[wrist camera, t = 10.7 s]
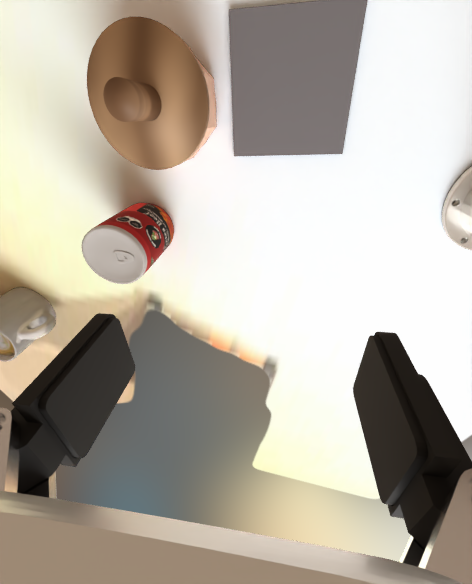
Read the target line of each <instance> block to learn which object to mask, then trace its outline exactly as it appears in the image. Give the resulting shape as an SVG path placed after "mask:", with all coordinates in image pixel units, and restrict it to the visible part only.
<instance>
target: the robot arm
mask: <svg viewBox="0 0 472 584" xmlns="http://www.w3.org/2000/svg"><path fill="white" fill-rule="evenodd" d="M453 201H454V202H453ZM442 224H443V228H444V231H445V232H446V234H447V236H448V237H449V238H450V239H451V240H452V241H453V242H455V243H456V244H457V245H459V246H461V247H463V248H465V249H468V250H472V166H471V167H470V168H469V169H468V170H467V171H465V172H464V173H463V174H462V176H461V177H460V178H459V179H458V180H457V181H456V182H455V184H454V185H453V187H452V188H451V190H450V192H449V193H448V195H447V198H446V200H445V202H444V206H443V210H442ZM134 371H135V364H134V361H133V358H132V355H131V352H130V349H129V347H128V344H127V341H126V338H125V335H124V332H123V329H122V327H121V324H120V321H119V319H117V318H116V317H115V316H114V315H113V314H100V313H99V314H96V315H95V316H94V317H93V318H92V319H91V320H90V321H89V322H88V324H87V325H86V326H85V327H84V328H83V329H82V330H81V331H80V332H79V333H78V334H77V335H76V336H75V337H74V338H73V339H72V340H71V342H70V343H69V344H68V345H67V346H66V347H65V348H64V349H63V350H62V351H61V352H60V353H59V354H58V355H57V356H56V357H55V359H54V360H53V361H52V362H51V363H50V364H49V365H48V366H47V367H46V368H45V369H44V370H43V371H42V372H41V373H40V374H39V375H38V377H37V378H36V379H35V380H34V381H33V382H32V383H31V384H30V385H29V386H28V387H27V388H26V389H25V390H24V391H23V392H22V394H21V395H20V396H19V397H18V398H17V399H16V400H15V401H14V402H13V403H12V404H13V405H14V409H13V410H12V411H11V412H10V411H9V410H8V409H5V408H0V584H472V461H471V459H470V458H469V456H468V454H467V452H466V450H465V448H464V447H463V445H462V443H461V441H460V439H459V438H458V436H457V434H456V432H455V430H454V428H453V427H452V425H451V423H450V421H449V419H448V418H447V416H446V414H445V412H444V410H443V408H442V407H441V405H440V403H439V401H438V399H437V397H436V396H435V394H434V392H433V390H432V388H431V387H430V385H429V383H428V381H427V380H426V378H425V377H424V376H422V375H420V374H418V373H417V371H416V369H415V368H414V366H413V364H412V362H411V360H410V358H409V356H408V354H407V352H406V350H405V349H404V347H403V345H402V343H401V341H400V339H399V337H398V336H397V334H395V333H387V332H376V333H375V335H374V336H370V337H369V339H368V342H367V345H366V348H365V351H364V355H363V358H362V361H361V364H360V367H359V370H358V374H357V377H356V380H355V383H354V387H353V393H354V398H355V402H356V406H357V410H358V414H359V418H360V421H361V425H362V429H363V433H364V437H365V441H366V445H367V449H368V453H369V457H370V461H371V464H372V468H373V472H374V476H375V480H376V484H377V488H378V492H379V495H380V499H381V501H382V502H383V503H384V504H388V508H389V512H390V515H391V516H392V517H398V518H404V520H405V523H406V527H407V530H408V533H409V534H410V535H411V536H410V538H409V541H408V543H407V545H406V548H405V550H404V552H403V554H402V556H401V559H400V561H399V562H397V561H393V560H389V559H385V558H379V557H375V556H370V555H365V554H360V553H355V552H350V551H345V550H340V549H335V548H329V547H325V546H320V545H314V544H309V543H303V542H298V541H292V540H287V539H281V538H276V537H270V536H265V535H259V534H254V533H248V532H243V531H237V530H232V529H226V528H220V527H215V526H209V525H204V524H198V523H192V522H186V521H181V520H175V519H169V518H164V517H158V516H153V515H147V514H141V513H135V512H130V511H124V510H118V509H112V508H106V507H101V506H94V505H89V504H83V503H77V502H71V501H65V500H59V499H57V498H56V474H55V471H56V469H57V468H58V466H59V465H60V464H62V465H66V466H72V467H76V466H77V464H78V462H79V461H80V459H81V458H83V457H85V456H86V455H87V453H88V452H89V450H90V448H91V446H92V445H93V443H94V441H95V440H96V438H97V436H98V434H99V433H100V431H101V429H102V427H103V426H104V424H105V422H106V420H107V419H108V417H109V415H110V413H111V412H112V410H113V408H114V407H115V405H116V403H117V402H118V400H119V398H120V396H121V395H122V393H123V391H124V389H125V388H126V386H127V384H128V383H129V381H130V379H131V377H132V376H133V374H134Z"/></svg>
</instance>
